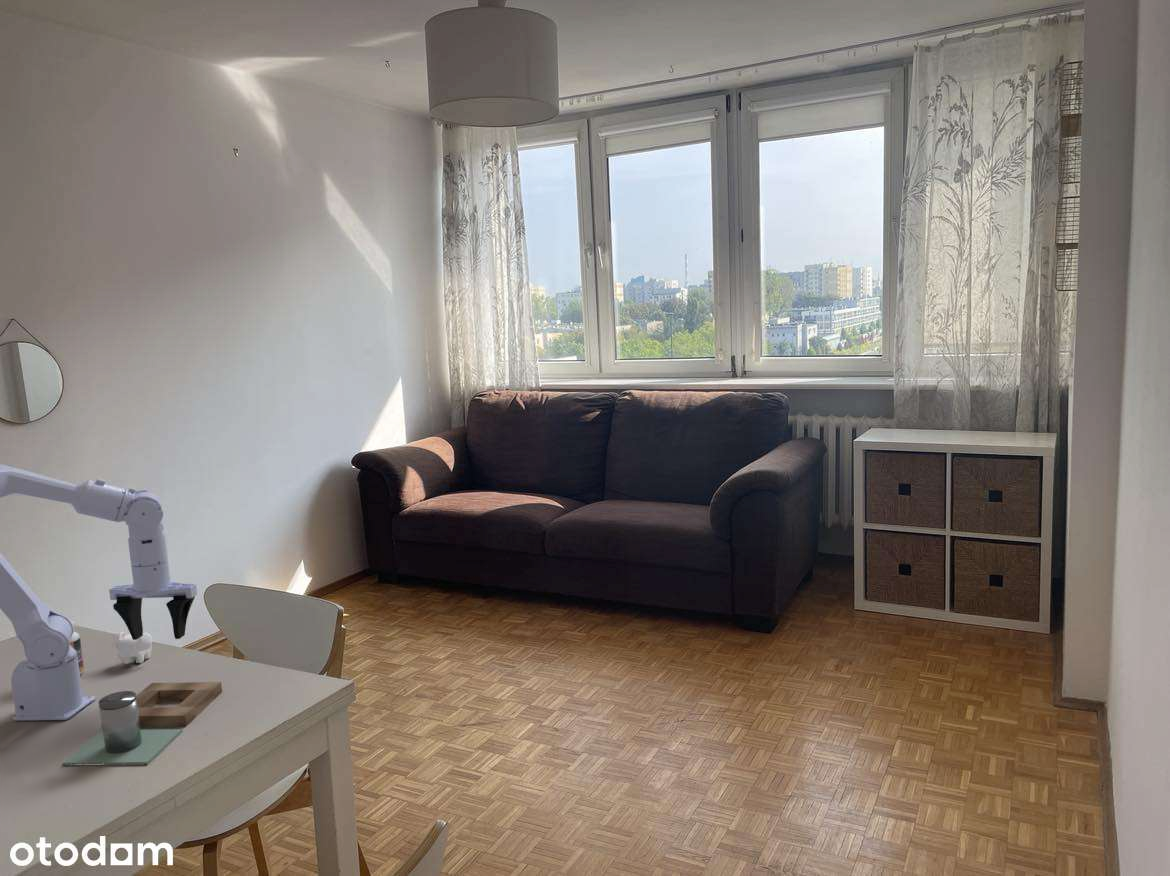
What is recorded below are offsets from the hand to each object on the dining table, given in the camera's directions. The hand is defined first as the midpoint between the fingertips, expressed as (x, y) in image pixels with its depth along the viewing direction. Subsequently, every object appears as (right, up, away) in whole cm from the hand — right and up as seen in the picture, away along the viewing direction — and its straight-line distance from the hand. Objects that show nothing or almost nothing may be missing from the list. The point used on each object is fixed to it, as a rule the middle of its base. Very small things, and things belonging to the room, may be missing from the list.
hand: (158, 637), depth 154 cm
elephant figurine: (-11, -8, +14) cm, 19 cm away
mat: (+4, -12, -20) cm, 24 cm away
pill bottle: (-21, -9, +9) cm, 25 cm away
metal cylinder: (+4, -12, -20) cm, 23 cm away
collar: (+5, -10, -7) cm, 13 cm away
